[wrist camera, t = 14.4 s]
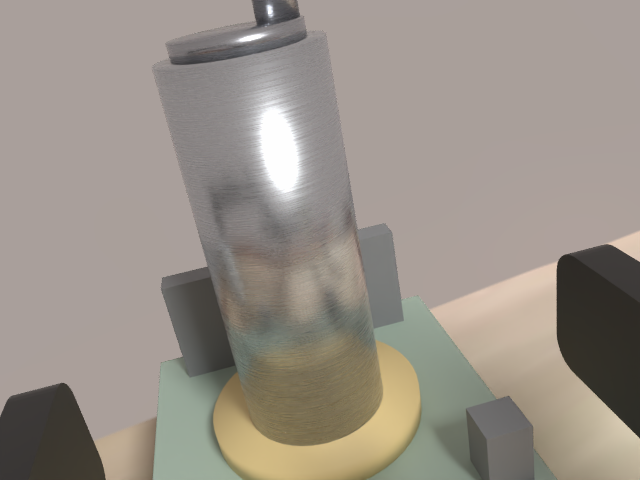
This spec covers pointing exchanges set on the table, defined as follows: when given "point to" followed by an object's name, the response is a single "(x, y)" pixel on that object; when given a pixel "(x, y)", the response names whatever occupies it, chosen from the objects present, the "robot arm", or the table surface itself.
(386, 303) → the green and yellow block
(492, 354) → the table surface
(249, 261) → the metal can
